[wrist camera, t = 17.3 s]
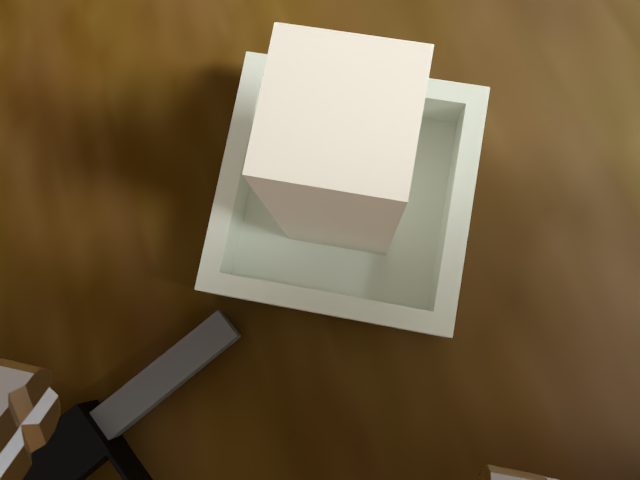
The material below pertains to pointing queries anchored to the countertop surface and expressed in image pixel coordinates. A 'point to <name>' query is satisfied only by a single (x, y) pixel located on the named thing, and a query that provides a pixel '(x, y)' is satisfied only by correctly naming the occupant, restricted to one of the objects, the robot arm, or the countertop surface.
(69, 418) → the toy submachine gun
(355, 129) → the cream block
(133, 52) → the countertop surface
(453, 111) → the tray
